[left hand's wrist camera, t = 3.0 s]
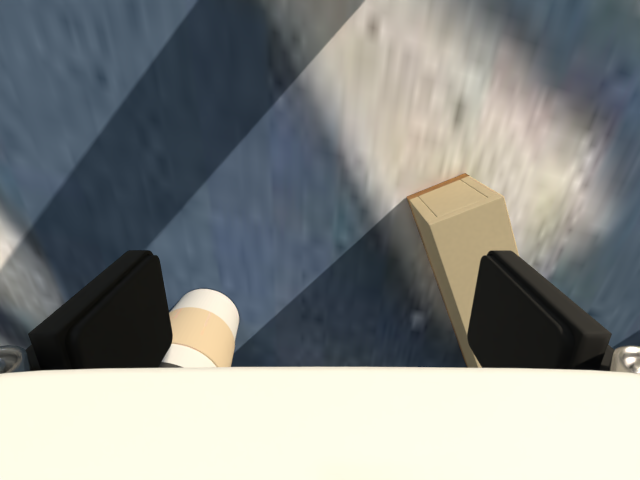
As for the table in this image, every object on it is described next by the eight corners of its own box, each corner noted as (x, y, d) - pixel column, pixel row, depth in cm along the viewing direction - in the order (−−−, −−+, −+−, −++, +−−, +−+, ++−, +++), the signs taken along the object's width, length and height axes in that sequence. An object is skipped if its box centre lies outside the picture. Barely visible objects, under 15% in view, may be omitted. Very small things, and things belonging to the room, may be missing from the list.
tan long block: (515, 347, 42) (556, 402, 35) (465, 364, 43) (495, 420, 36) (465, 173, 35) (504, 196, 27) (406, 196, 35) (429, 225, 28)
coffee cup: (194, 360, 43) (133, 492, 29) (149, 298, 39) (56, 412, 26) (264, 333, 41) (235, 457, 27) (222, 266, 38) (166, 369, 24)
